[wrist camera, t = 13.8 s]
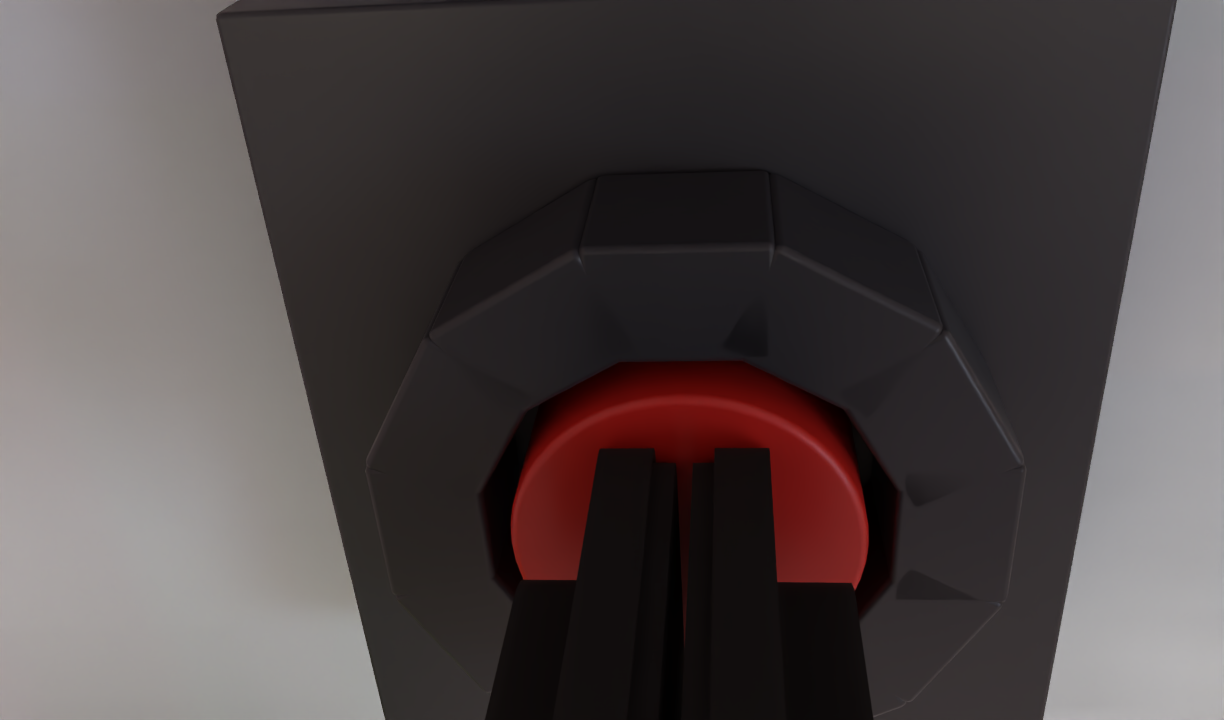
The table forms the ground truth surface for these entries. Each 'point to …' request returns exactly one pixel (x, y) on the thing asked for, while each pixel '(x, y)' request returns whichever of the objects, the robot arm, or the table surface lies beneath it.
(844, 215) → the box
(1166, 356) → the table surface
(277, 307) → the table surface
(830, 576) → the button
